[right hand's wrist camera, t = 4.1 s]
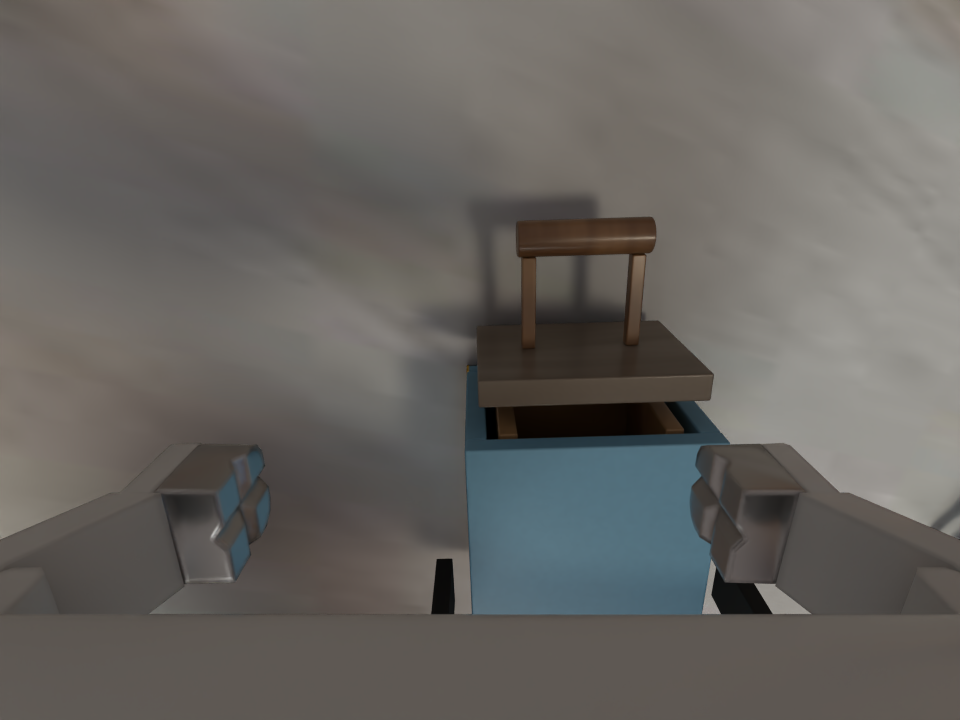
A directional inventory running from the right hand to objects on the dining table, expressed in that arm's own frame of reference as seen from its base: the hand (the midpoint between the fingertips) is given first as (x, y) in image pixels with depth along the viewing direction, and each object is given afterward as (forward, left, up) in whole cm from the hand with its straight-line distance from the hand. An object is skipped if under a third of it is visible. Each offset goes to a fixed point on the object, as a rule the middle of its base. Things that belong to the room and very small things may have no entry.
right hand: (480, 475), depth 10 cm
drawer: (+7, +4, -18) cm, 19 cm away
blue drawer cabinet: (+12, +3, -19) cm, 23 cm away
